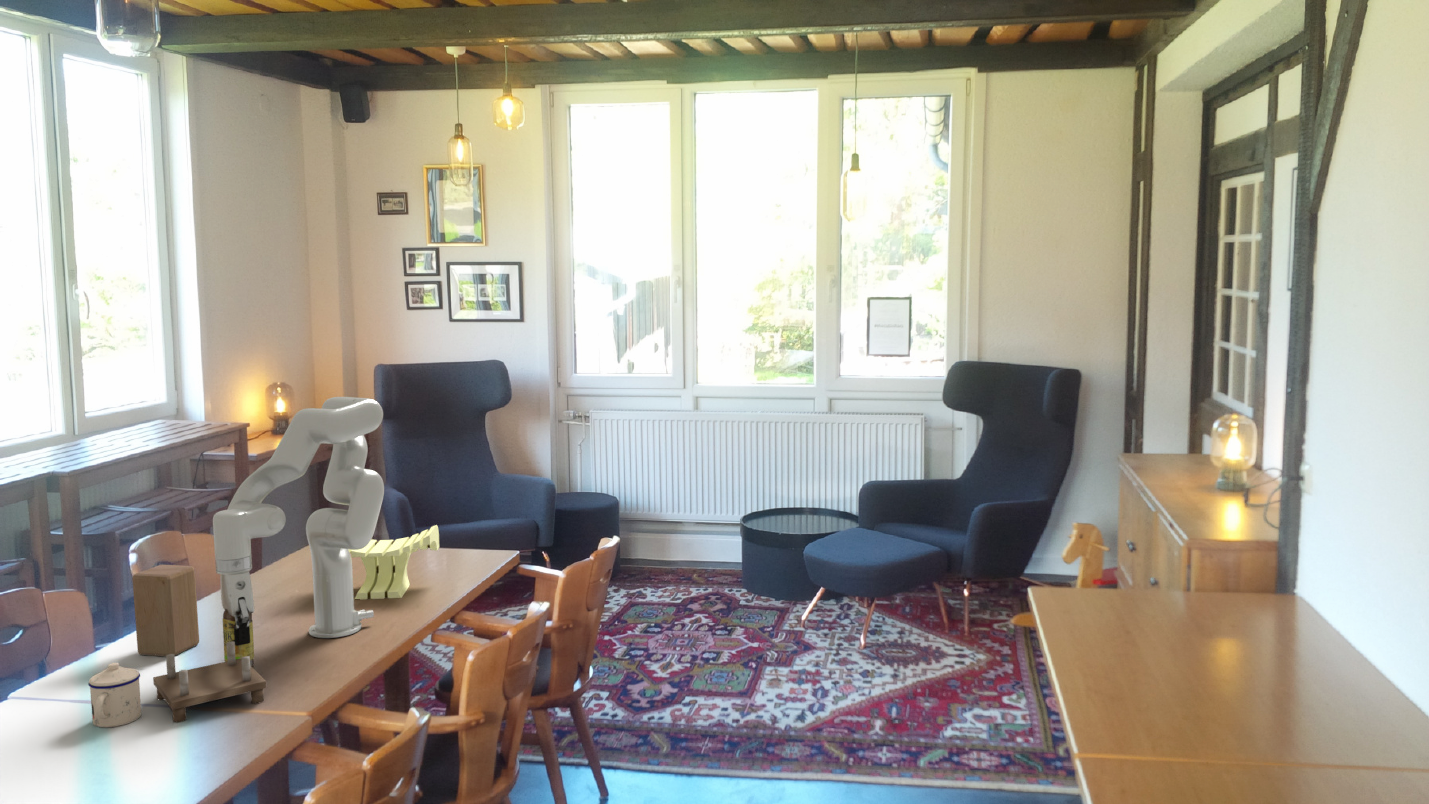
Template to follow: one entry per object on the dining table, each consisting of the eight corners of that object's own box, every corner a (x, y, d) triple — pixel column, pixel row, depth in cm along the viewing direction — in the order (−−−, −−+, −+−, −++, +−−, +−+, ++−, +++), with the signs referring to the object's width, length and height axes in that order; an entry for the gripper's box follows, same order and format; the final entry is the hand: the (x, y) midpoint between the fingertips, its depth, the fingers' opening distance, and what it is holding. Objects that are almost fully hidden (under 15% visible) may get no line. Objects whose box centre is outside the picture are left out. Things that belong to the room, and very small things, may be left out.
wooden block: (172, 658, 246) (167, 576, 243) (136, 655, 248) (130, 574, 245) (201, 644, 255) (196, 565, 253) (166, 641, 257) (160, 563, 255)
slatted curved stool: (440, 580, 309) (438, 522, 307) (432, 596, 294) (429, 534, 292) (336, 584, 306) (333, 525, 304) (322, 600, 290) (319, 538, 288)
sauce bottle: (219, 669, 238) (213, 584, 236) (244, 660, 244) (238, 578, 241) (236, 674, 235) (230, 588, 233) (261, 665, 240) (255, 581, 238)
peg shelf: (243, 677, 233) (241, 636, 232) (267, 701, 219) (264, 658, 218) (154, 697, 222) (151, 654, 221) (173, 724, 208) (170, 678, 207)
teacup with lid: (104, 711, 215) (100, 657, 214) (150, 709, 216) (146, 655, 214) (75, 736, 203) (70, 678, 202) (124, 733, 204) (119, 676, 203)
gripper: (261, 568, 232) (266, 646, 234) (240, 553, 246) (245, 627, 247) (226, 574, 227) (231, 654, 229) (206, 559, 241) (211, 634, 243)
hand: (238, 639), depth 238 cm, fingers closed on sauce bottle, 6 cm apart
